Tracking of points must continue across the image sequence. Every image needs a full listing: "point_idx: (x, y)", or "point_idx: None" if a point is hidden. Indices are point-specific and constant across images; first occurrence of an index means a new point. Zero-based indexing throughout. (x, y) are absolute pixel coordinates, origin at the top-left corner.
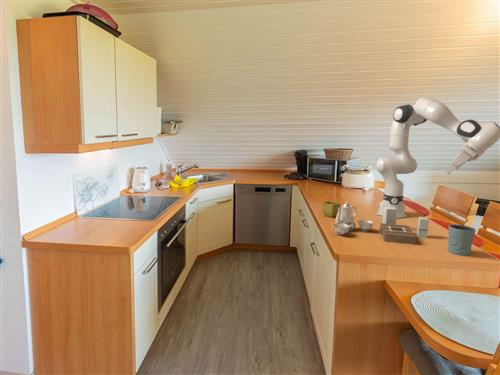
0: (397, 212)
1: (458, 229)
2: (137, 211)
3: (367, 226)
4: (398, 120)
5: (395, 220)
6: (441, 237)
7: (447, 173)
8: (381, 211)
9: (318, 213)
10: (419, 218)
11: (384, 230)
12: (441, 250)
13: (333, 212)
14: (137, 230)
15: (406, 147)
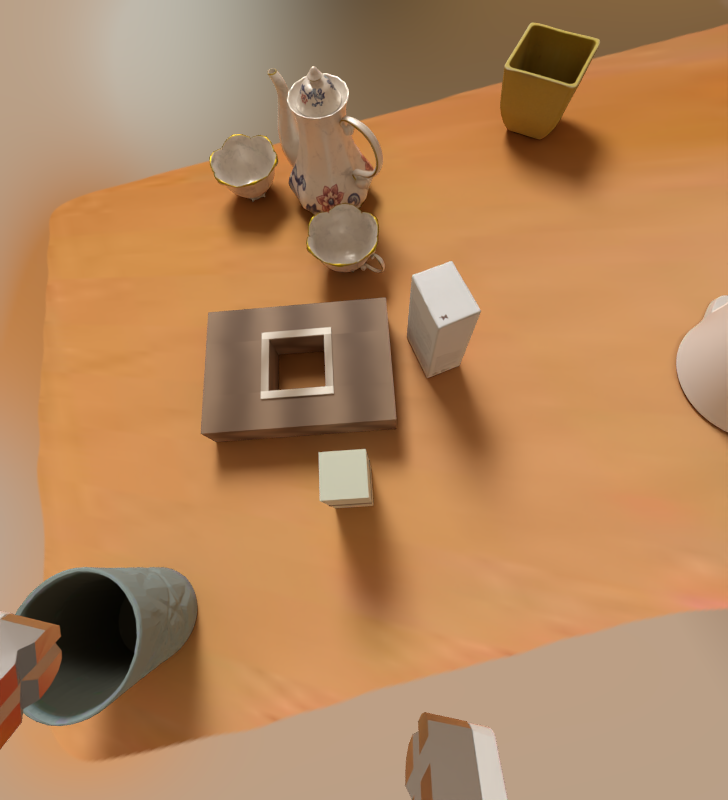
0: (724, 390)
1: (21, 605)
2: None
3: (315, 250)
4: None
5: (429, 356)
6: (379, 587)
7: (412, 747)
8: (720, 310)
9: None
10: (341, 451)
11: (258, 311)
12: (166, 540)
13: (509, 111)
14: None
15: None
